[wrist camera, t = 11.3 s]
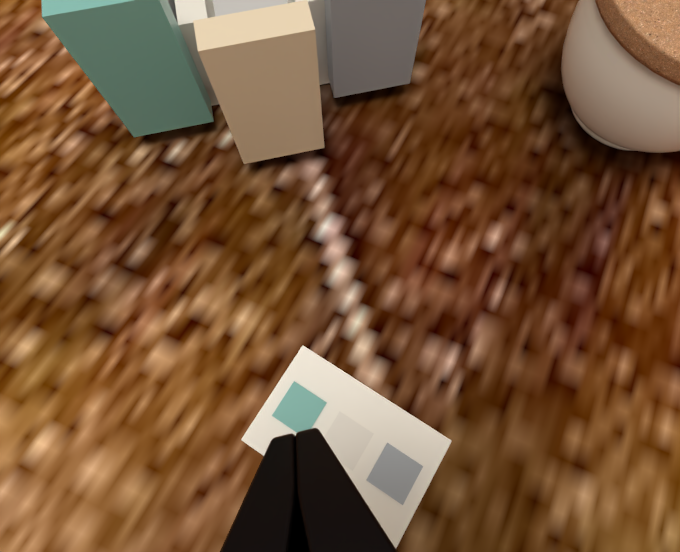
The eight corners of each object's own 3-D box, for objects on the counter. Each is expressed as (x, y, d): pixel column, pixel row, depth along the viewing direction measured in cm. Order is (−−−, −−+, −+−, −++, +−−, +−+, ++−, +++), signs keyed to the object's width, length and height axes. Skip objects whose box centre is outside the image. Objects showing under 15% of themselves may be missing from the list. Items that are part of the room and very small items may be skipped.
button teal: (214, 121, 24) (157, -4, 17) (134, 137, 24) (42, 16, 16) (198, 28, 26) (142, -119, 19) (125, 42, 26) (39, -102, 18)
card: (449, 440, 20) (452, 440, 19) (394, 546, 18) (396, 550, 18) (303, 346, 21) (302, 344, 20) (242, 439, 20) (240, 440, 19)
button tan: (324, 147, 23) (315, 29, 16) (243, 164, 23) (198, 51, 16) (300, 50, 25) (282, -94, 18) (225, 64, 25) (177, -76, 18)
